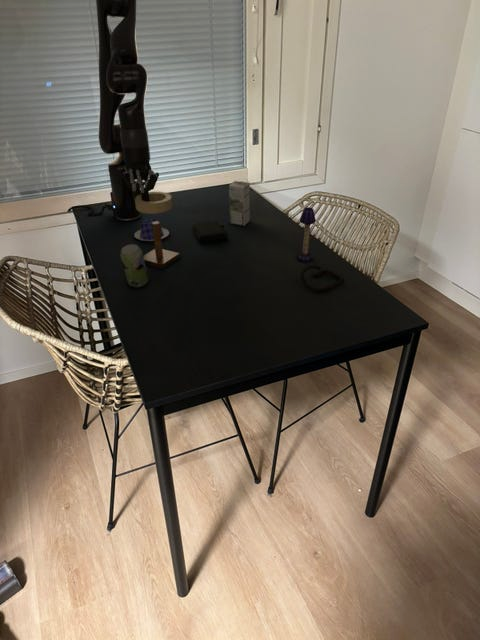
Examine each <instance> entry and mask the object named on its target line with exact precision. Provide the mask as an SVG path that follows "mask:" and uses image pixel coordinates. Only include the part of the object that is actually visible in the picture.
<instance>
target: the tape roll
mask: <svg viewBox="0 0 480 640" xmlns="http://www.w3.org/2000/svg"><path fill="white" fill-rule="evenodd" d="M135 204H136V209H137V210H138V211H139V212H140V213H141V214H148V215H149V214H150V215H151V214H153V215H155V214H156V215H157V214H162V213H167V212H168V211H170V210H172V208H173V197H172V195H171V194H170V193H168V192H164V191H149V202H147V201H143V200H142V197H141V194H140V195H138V196H136V198H135Z"/></svg>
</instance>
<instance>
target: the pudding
mask: <svg viewBox="0 0 480 640" xmlns="http://www.w3.org/2000/svg"><path fill="white" fill-rule="evenodd" d="M155 221H158V222H160V221H159V219H155V218H147V219H145V220H142V222H141V226H140V229H138V230H137V231H136V232H134V235H133V236H134V238H135V239H137V240H139V241H144V242H154V234H153V226H152V223H153V222H155ZM160 232H161V240H162V239H165V238H167V237H168V236H169V234H170V231H169V229H166V228H164V227H162V226H161V225H160Z"/></svg>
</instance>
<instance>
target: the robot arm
mask: <svg viewBox="0 0 480 640" xmlns="http://www.w3.org/2000/svg"><path fill="white" fill-rule="evenodd" d="M95 5H96V17H97V18H96V19H97V30H98V33H97V34H98V79H99V80H98V82H99V115H98V116H99V117H98V132H97V133H98V135H97V136H98V142H99V147H100V149H101V151H102V152H103V153H105V154H107V155H114V154H117V156H116V157H115V158H114V159H113V160H111V161H110V162H109V163H108V166H107V169H108V176H109V181H110V188H111V191H110V192H109V194H110V202H107V203H106V205H104V206H103V207H101V210H100V212H95V213H94V210H95V208H94V207H93V206H88V205H83V204H82V205H81V204H79V205H73V206H71V207H69V208H68V209H67V212H70V211H72V210H74V209H77V208H82V209H83V208H84V209H90V210H89V212H88V214H89V215H90V216H100V215H102V214H103V213H104V211H105V209H106V210H107V211H112V213H113V218H115V219H116V220H118V221H122V222H131V221H135V220H138V219H140V218H141V217H142V212H139V211H138V210H137V209H136V204H135V198H136V196H138V195H140V194H141V197H142V200H143V201H147V202H149V192H151V191H153V190H154V189H155V186H156V184H157V182H158V179H159V177H160V173H159V172H155V171H154V170H152V166H151V163H150V160H151V152H150V151H151V150H150V142H149V134H148V133H149V132H148V129H147V123H146V113H145V100H146V93H147V87H148V81H149V80H148V79H149V78H148V72H147V69H146V68H145V66H144V65H142V64H141V63H138V62H139V56H138V55H139V54H138V48H137V13H138V12H137V11H138V10H137V0H95ZM109 18H113V19H120V20H121V21H120V22H119V23H118V24H117V25H116V27H114V29H113V30H112V28H111V26H110V22H109ZM128 94H129V95H130V94H135V97H134V98H133V99H132V100H130V101H127V102H124V103H123V101H124V100H125V98H126V96H127V95H128ZM117 114H118V123H115V119H116V116H117Z"/></svg>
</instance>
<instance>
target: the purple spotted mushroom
mask: <svg viewBox="0 0 480 640" xmlns="http://www.w3.org/2000/svg"><path fill="white" fill-rule="evenodd" d="M299 222H300V223H301V224H302V225H304V229H303V230H304V232H303V241H302V244H303V245H302V252H301V253H299V254H298V257H297V260H298V261H299V262H303V263H308V262H312V259H313V258H312V255H311V254H310V253H309V244H310V235H311V225H314V224H315V223H316V215H315V210H314V208H313V207H309V206H307V207H304V208H303V209H302V212H301V215H300V218H299Z"/></svg>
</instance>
